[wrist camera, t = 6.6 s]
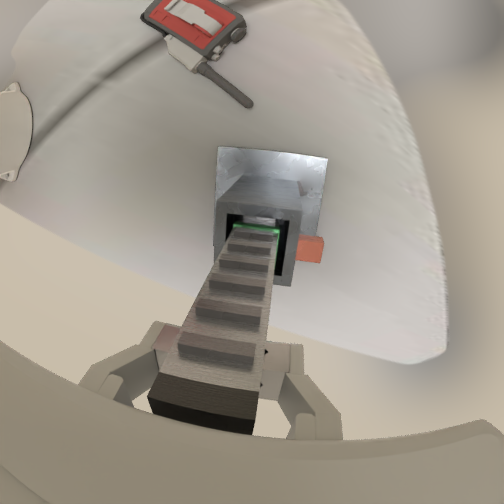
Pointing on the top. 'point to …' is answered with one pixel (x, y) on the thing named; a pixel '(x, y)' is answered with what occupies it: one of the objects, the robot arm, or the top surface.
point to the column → (223, 336)
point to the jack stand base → (271, 201)
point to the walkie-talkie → (198, 35)
